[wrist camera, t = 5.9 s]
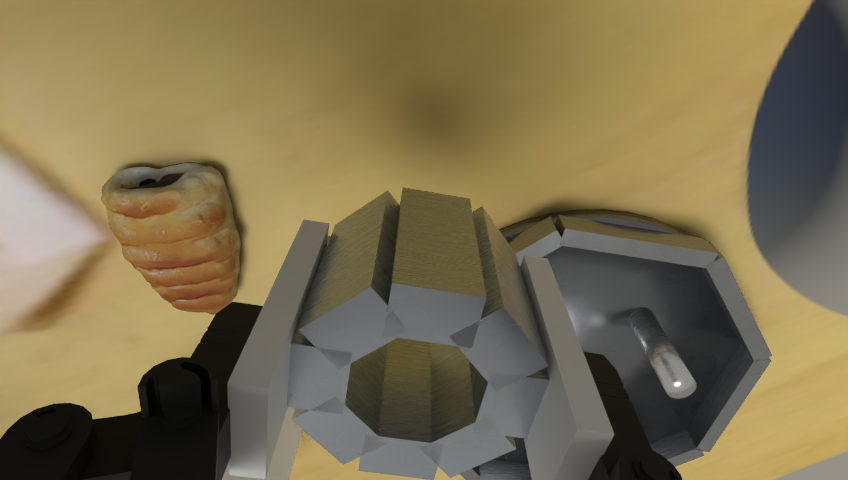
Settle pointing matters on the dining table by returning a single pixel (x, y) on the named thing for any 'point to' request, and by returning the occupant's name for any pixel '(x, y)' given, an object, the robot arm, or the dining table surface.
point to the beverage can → (279, 452)
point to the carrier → (648, 325)
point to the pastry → (177, 232)
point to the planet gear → (417, 340)
